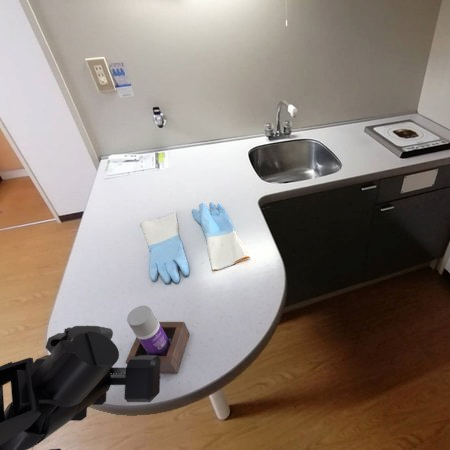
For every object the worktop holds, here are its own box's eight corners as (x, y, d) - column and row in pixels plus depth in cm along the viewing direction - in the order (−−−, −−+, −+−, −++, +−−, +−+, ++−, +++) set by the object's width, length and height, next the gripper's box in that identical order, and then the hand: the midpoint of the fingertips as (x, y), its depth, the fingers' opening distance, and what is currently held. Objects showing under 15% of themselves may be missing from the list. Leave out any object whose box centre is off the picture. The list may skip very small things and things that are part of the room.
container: (169, 363, 67) (146, 326, 57) (148, 363, 67) (121, 325, 57) (176, 343, 71) (155, 305, 61) (156, 342, 71) (132, 304, 61)
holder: (177, 373, 65) (170, 362, 62) (133, 373, 65) (124, 362, 62) (189, 333, 72) (184, 321, 69) (150, 333, 73) (143, 321, 69)
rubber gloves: (153, 294, 81) (145, 278, 77) (141, 224, 103) (134, 208, 99) (250, 259, 91) (248, 243, 86) (220, 201, 113) (217, 187, 109)
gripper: (132, 338, 40) (180, 313, 56) (-8, 337, 40) (79, 313, 56) (129, 427, 39) (178, 376, 55) (-15, 426, 39) (75, 376, 55)
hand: (127, 358), depth 55 cm, fingers open, 9 cm apart
